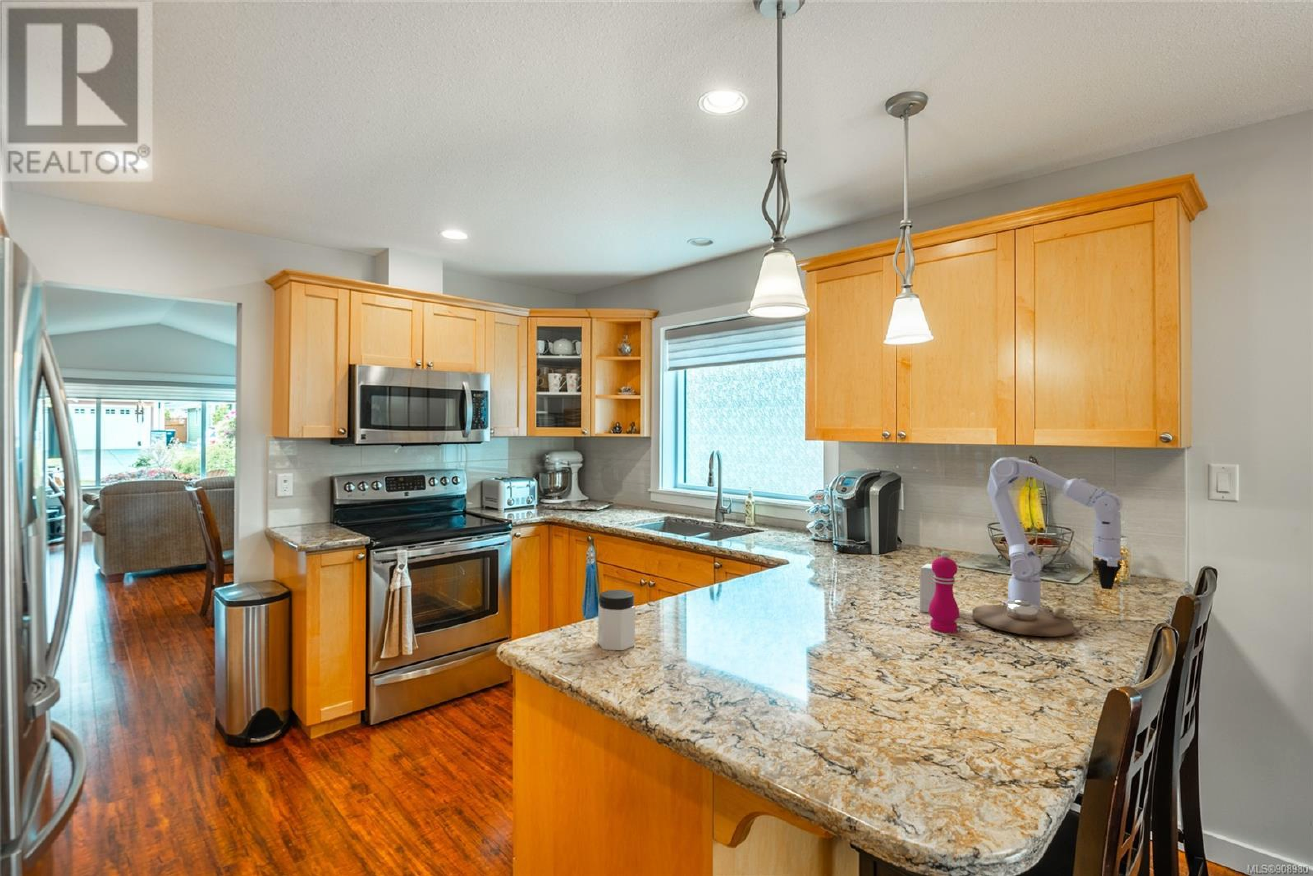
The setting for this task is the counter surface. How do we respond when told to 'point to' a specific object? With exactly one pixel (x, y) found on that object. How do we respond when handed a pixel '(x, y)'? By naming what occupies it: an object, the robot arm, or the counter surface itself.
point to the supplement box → (926, 587)
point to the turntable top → (1042, 627)
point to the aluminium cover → (1022, 610)
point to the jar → (616, 620)
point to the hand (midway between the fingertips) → (1106, 588)
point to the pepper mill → (944, 595)
